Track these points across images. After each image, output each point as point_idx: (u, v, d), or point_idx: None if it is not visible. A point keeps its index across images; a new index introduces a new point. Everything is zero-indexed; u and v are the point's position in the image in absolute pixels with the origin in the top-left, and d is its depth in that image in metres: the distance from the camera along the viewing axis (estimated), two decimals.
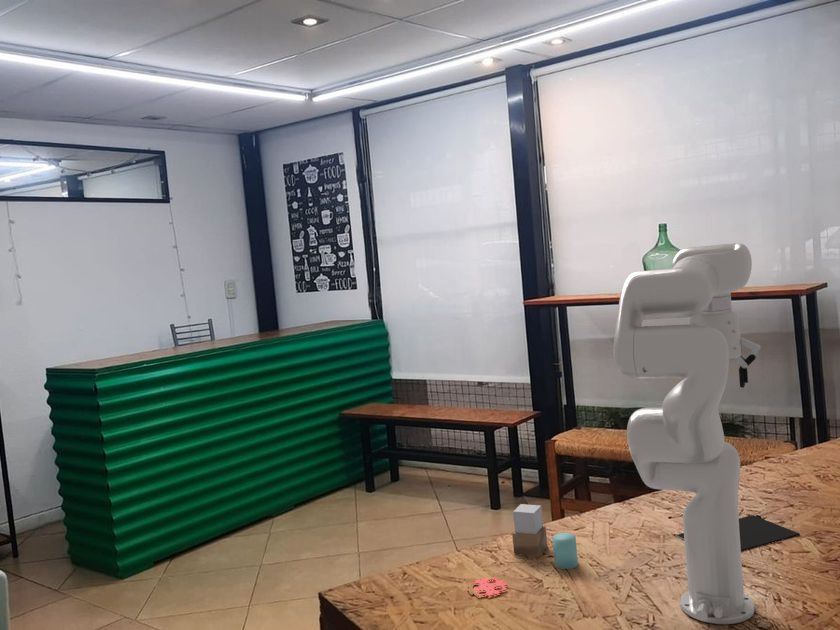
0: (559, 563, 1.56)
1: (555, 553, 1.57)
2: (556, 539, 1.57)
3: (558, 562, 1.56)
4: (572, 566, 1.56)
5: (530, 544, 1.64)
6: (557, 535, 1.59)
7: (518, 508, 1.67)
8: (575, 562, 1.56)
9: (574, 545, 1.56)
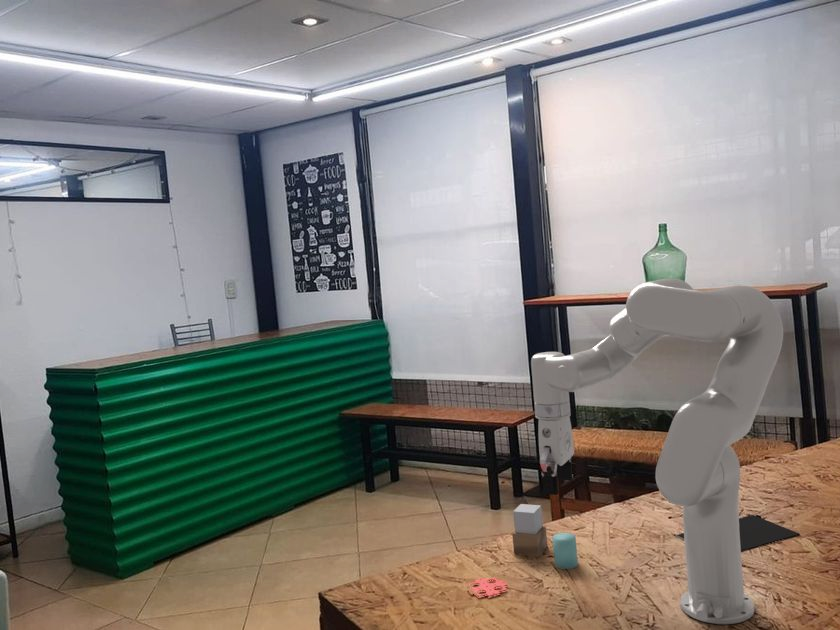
0: (559, 563, 1.56)
1: (555, 553, 1.57)
2: (556, 539, 1.57)
3: (558, 562, 1.56)
4: (572, 566, 1.56)
5: (530, 544, 1.64)
6: (557, 535, 1.59)
7: (518, 508, 1.67)
8: (575, 562, 1.56)
9: (574, 545, 1.56)
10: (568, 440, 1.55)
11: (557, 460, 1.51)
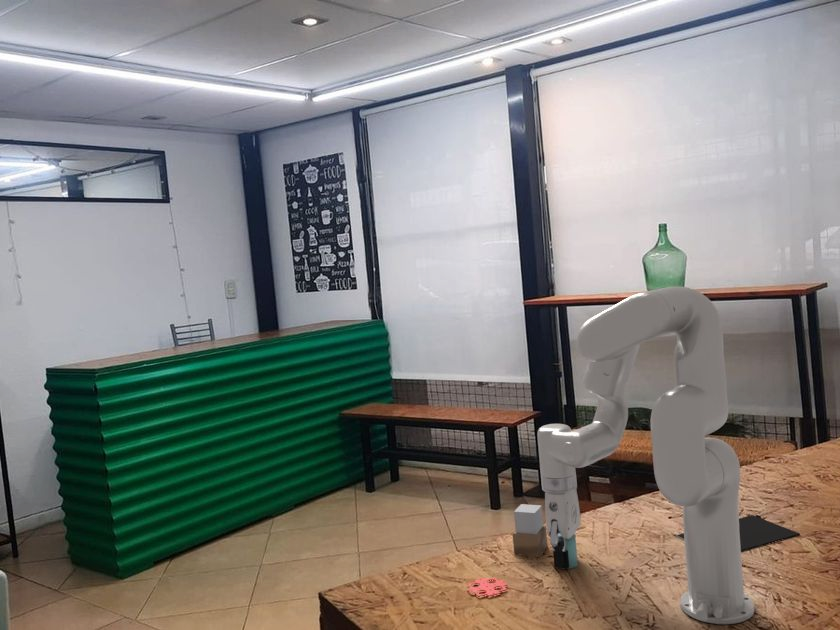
0: None
1: None
2: None
3: None
4: (572, 566, 1.56)
5: (530, 544, 1.64)
6: None
7: (519, 508, 1.67)
8: (575, 562, 1.56)
9: (574, 545, 1.56)
10: (575, 512, 1.56)
11: (564, 534, 1.52)
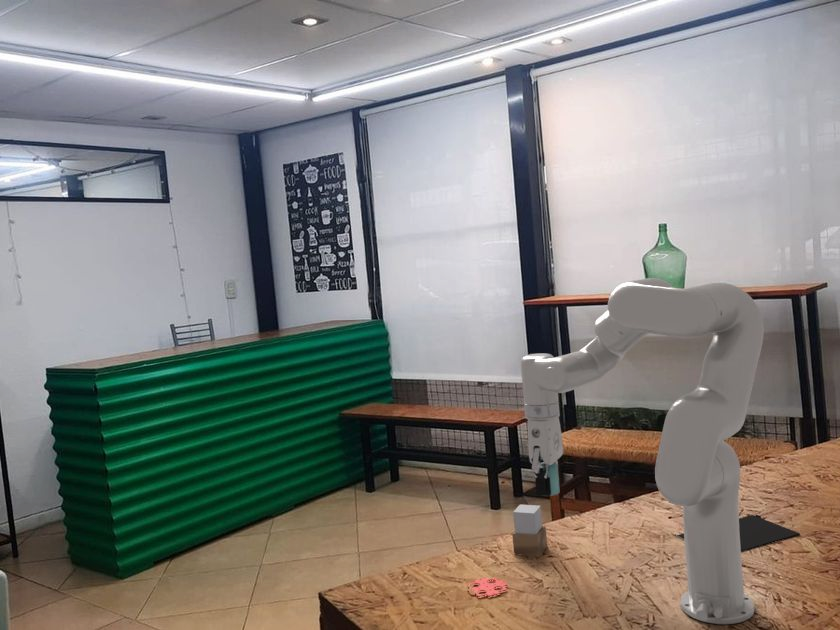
0: None
1: None
2: None
3: None
4: (554, 493, 1.57)
5: (530, 544, 1.64)
6: None
7: (518, 509, 1.67)
8: (557, 489, 1.58)
9: (556, 472, 1.58)
10: (557, 440, 1.58)
11: (546, 460, 1.54)
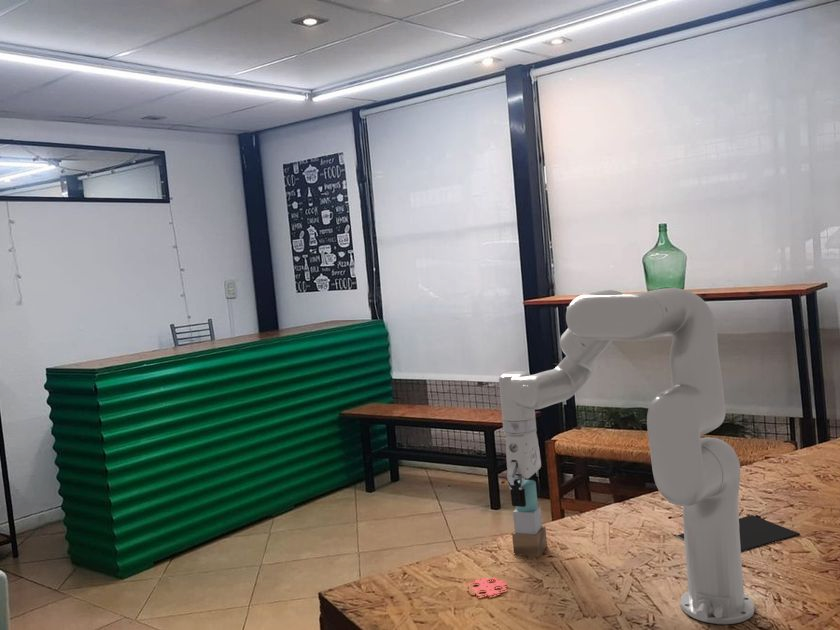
0: (519, 507, 1.65)
1: None
2: None
3: None
4: (532, 509, 1.64)
5: (530, 544, 1.64)
6: (518, 481, 1.68)
7: None
8: (535, 506, 1.65)
9: (534, 490, 1.65)
10: (534, 454, 1.65)
11: (524, 474, 1.60)
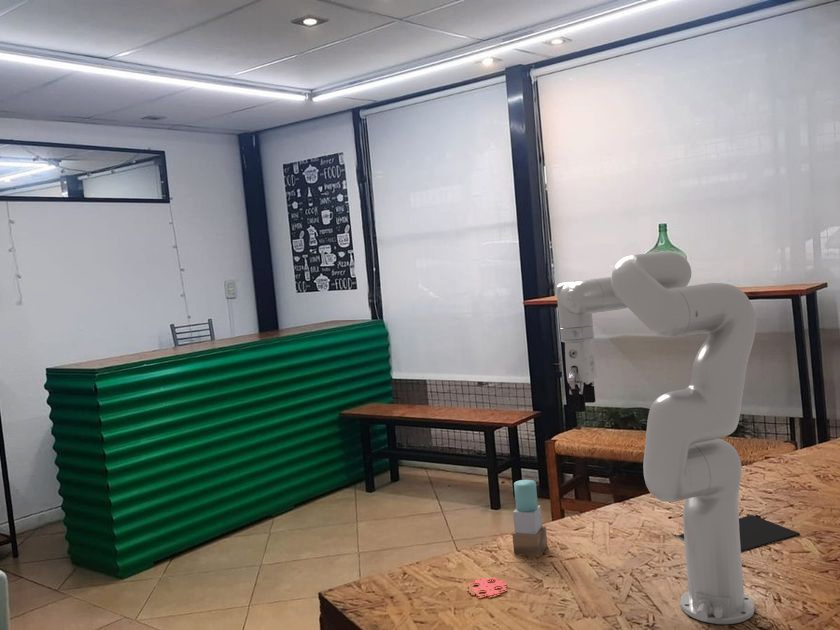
0: (519, 507, 1.65)
1: (516, 498, 1.65)
2: (517, 484, 1.65)
3: (518, 506, 1.65)
4: (532, 509, 1.64)
5: (530, 544, 1.64)
6: (519, 481, 1.68)
7: None
8: (535, 506, 1.65)
9: (534, 490, 1.65)
10: (592, 362, 1.67)
11: (584, 379, 1.62)
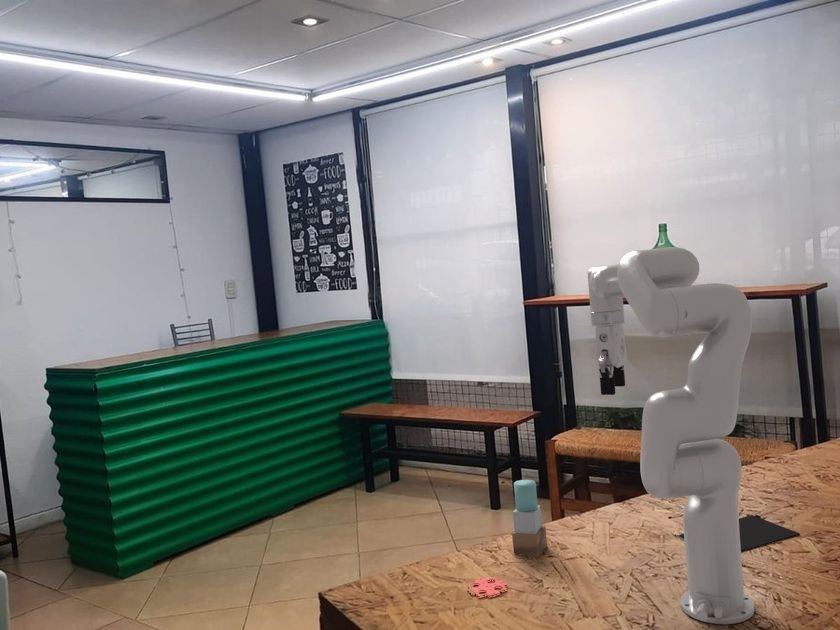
0: (519, 507, 1.65)
1: (516, 497, 1.65)
2: (517, 484, 1.65)
3: (518, 506, 1.65)
4: (532, 509, 1.64)
5: (530, 543, 1.64)
6: (518, 481, 1.68)
7: None
8: (535, 506, 1.65)
9: (534, 490, 1.65)
10: (622, 346, 1.68)
11: (614, 362, 1.64)
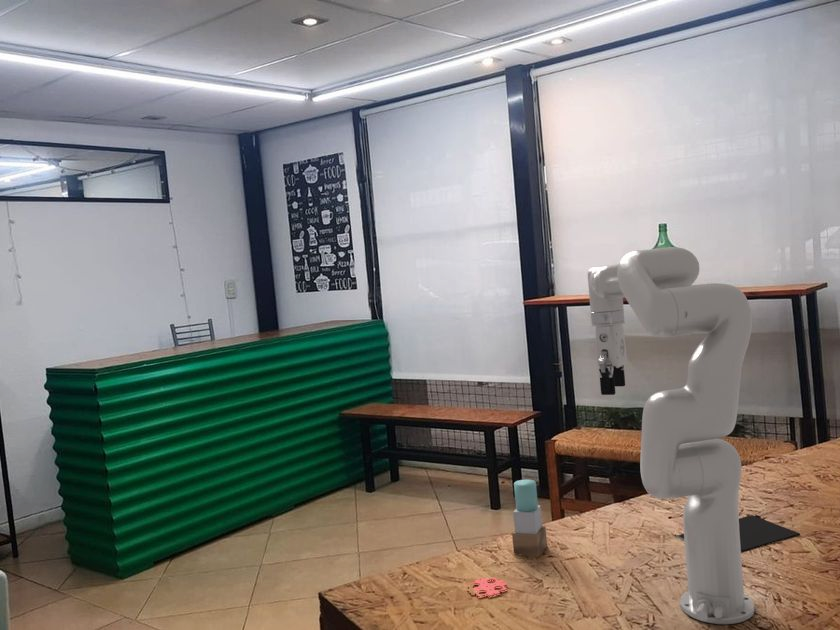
0: (520, 507, 1.65)
1: (516, 498, 1.65)
2: (517, 484, 1.65)
3: (519, 506, 1.65)
4: (532, 509, 1.64)
5: (530, 543, 1.64)
6: (518, 481, 1.67)
7: None
8: (535, 506, 1.65)
9: (534, 489, 1.65)
10: (622, 346, 1.68)
11: (614, 362, 1.64)
